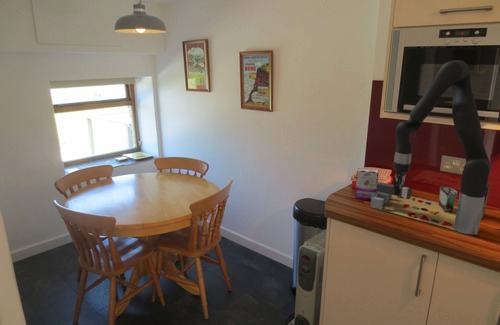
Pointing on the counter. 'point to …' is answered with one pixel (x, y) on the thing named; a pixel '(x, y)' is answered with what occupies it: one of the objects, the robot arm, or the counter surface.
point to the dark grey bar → (390, 189)
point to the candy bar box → (366, 183)
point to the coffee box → (485, 199)
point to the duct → (379, 199)
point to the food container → (447, 198)
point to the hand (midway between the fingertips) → (397, 193)
